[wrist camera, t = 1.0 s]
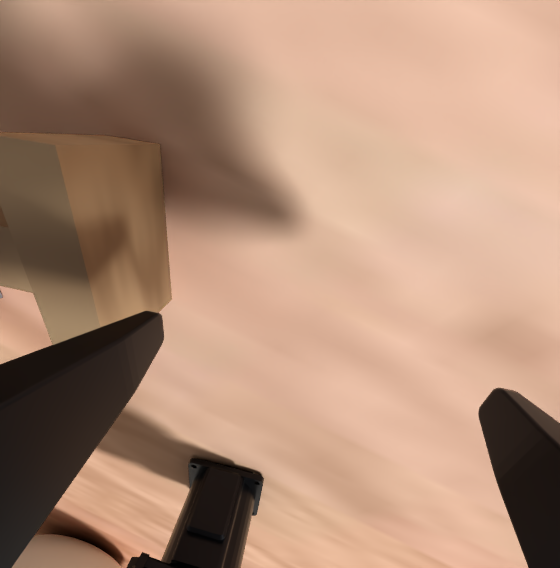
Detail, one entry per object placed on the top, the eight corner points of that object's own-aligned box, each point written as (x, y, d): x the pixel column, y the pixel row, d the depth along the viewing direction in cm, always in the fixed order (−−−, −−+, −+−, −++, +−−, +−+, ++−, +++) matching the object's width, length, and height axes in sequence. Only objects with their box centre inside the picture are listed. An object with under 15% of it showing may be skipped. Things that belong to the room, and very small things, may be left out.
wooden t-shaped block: (171, 299, 15) (108, 361, 11) (46, 272, 16) (-61, 321, 12) (159, 143, 11) (55, 145, 7) (-6, 117, 12) (-195, 103, 8)
